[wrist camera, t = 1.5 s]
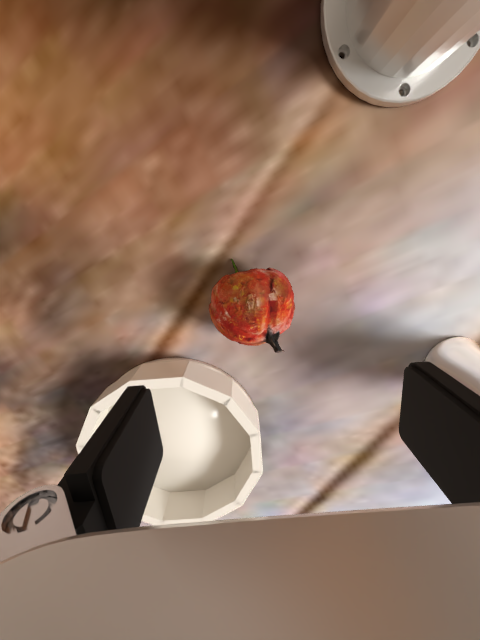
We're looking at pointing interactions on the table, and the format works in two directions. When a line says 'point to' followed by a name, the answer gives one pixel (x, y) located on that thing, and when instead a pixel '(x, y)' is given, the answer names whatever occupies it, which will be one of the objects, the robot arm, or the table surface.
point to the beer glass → (458, 360)
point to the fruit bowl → (193, 438)
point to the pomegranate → (253, 306)
